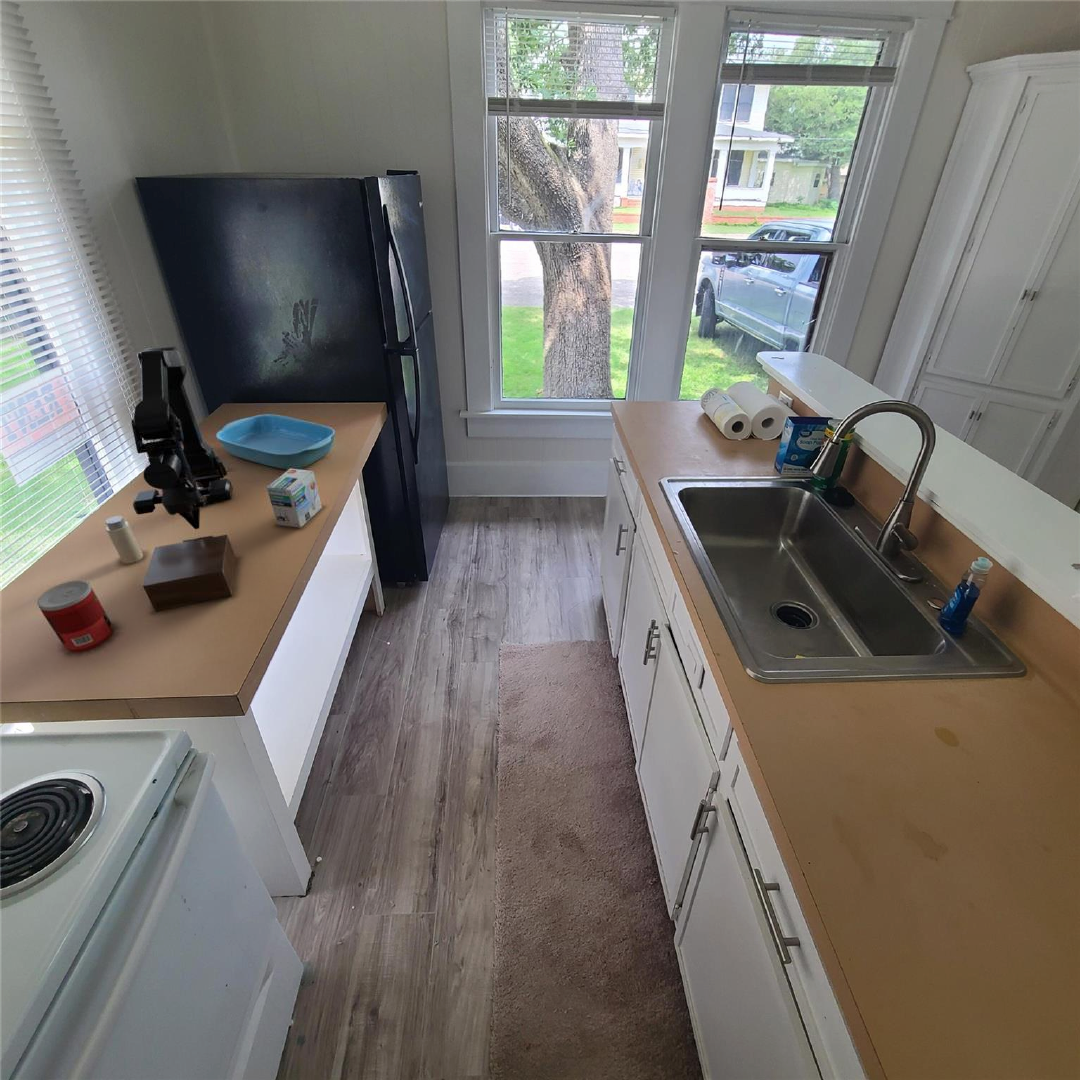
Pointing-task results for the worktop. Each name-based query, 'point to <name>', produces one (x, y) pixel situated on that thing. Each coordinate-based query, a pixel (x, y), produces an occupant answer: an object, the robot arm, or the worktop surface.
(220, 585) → the cabinet
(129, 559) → the grey-lidded cream jar
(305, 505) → the light bulb box
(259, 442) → the casserole dish
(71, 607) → the canned food
